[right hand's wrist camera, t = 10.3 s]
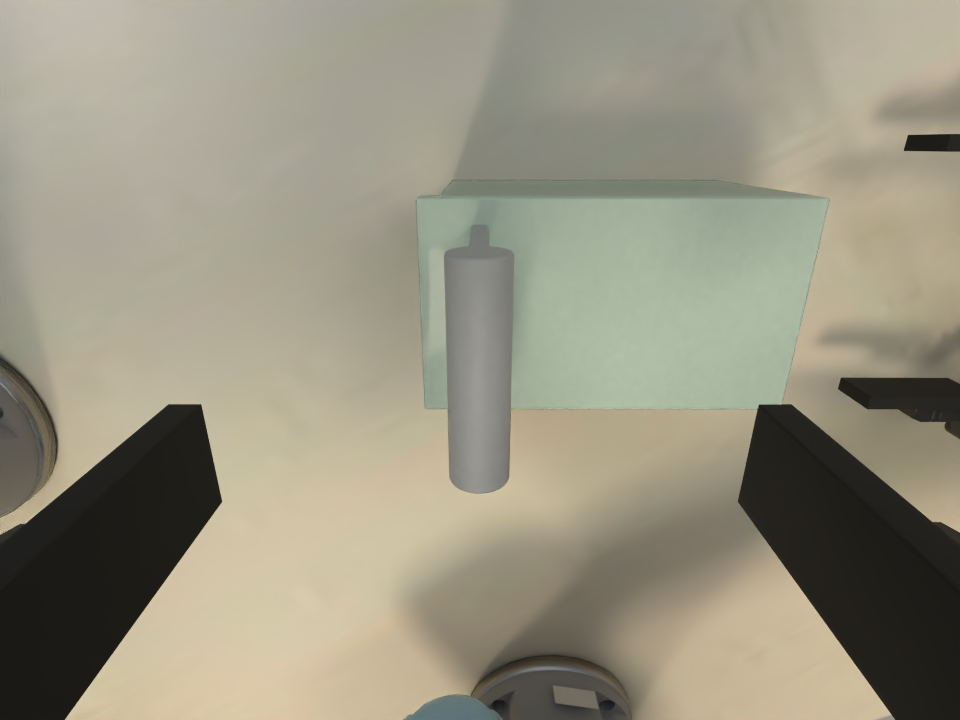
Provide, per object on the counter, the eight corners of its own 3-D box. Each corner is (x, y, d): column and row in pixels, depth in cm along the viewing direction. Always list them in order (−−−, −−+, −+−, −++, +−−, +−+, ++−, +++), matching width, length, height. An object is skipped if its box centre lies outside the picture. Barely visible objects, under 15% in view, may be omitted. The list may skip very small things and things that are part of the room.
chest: (455, 329, 37) (445, 398, 27) (452, 180, 33) (440, 195, 23) (690, 329, 37) (768, 398, 27) (713, 179, 33) (813, 195, 23)
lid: (427, 398, 27) (401, 517, 18) (418, 195, 23) (382, 224, 15) (768, 398, 27) (903, 517, 18) (814, 195, 23) (1008, 224, 15)
